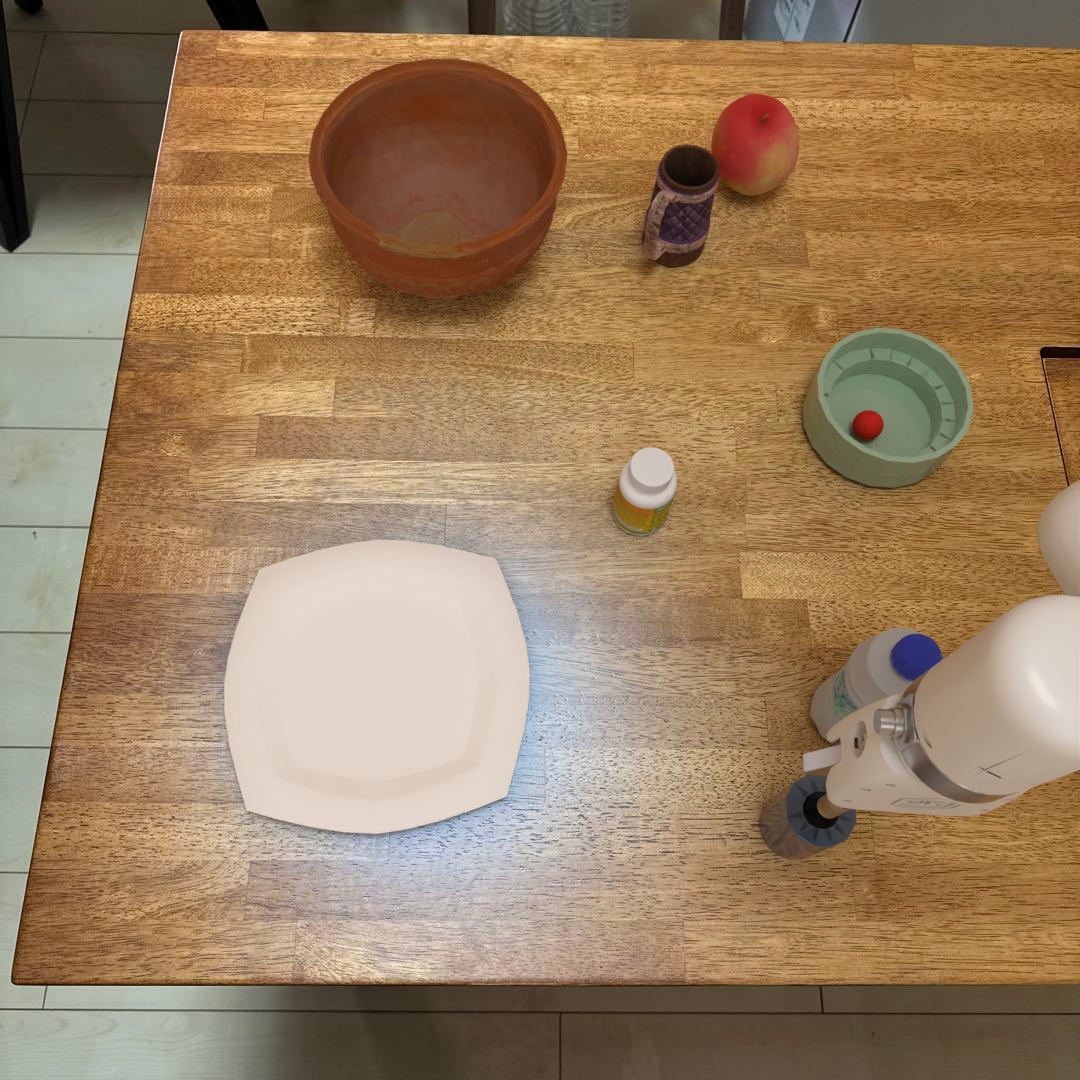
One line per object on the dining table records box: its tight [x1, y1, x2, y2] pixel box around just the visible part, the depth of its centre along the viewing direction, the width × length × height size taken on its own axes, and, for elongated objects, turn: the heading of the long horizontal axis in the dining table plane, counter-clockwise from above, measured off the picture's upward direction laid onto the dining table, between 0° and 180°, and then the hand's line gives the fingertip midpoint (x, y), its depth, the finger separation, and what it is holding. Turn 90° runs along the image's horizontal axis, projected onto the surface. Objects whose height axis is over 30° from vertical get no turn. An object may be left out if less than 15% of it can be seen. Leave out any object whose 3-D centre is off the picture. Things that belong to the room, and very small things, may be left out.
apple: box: [710, 93, 800, 197], centre depth 112 cm, size 10×10×10 cm
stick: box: [817, 794, 851, 819], centre depth 73 cm, size 2×2×14 cm
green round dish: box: [802, 327, 975, 489], centre depth 102 cm, size 15×15×6 cm
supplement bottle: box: [611, 446, 678, 537], centre depth 95 cm, size 5×5×10 cm
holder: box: [758, 774, 858, 861], centre depth 84 cm, size 6×6×9 cm
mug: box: [641, 144, 720, 267], centre depth 107 cm, size 10×7×12 cm
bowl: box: [308, 58, 568, 301], centre depth 105 cm, size 25×25×15 cm
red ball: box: [852, 410, 884, 440], centre depth 102 cm, size 3×3×3 cm
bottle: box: [809, 627, 943, 740], centre depth 83 cm, size 7×7×20 cm
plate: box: [223, 538, 531, 835], centre depth 91 cm, size 27×27×2 cm
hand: (863, 787), depth 71 cm, fingers closed on stick, 1 cm apart
